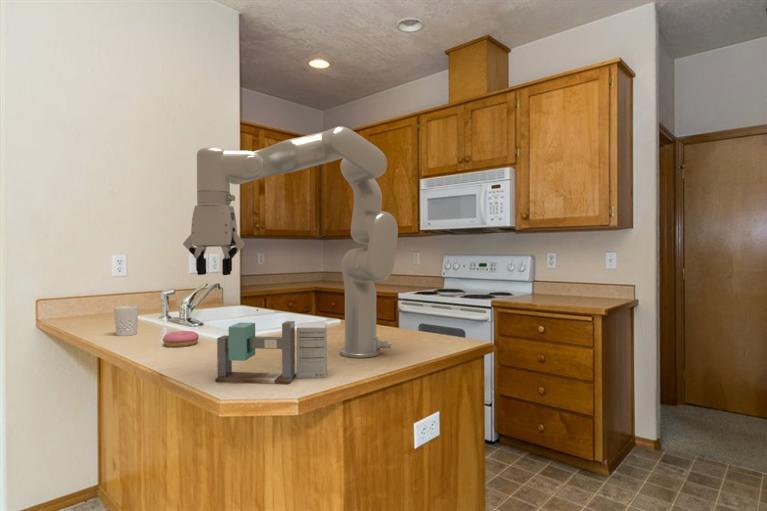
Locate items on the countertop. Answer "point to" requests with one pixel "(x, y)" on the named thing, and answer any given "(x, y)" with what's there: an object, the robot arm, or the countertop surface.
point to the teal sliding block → (240, 341)
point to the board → (254, 378)
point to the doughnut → (180, 339)
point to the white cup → (126, 320)
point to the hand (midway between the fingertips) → (214, 274)
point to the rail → (262, 343)
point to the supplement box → (311, 350)
